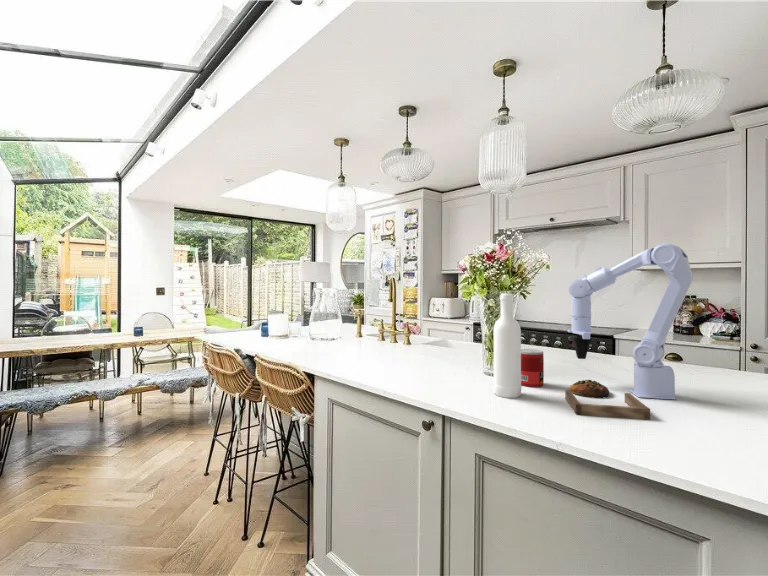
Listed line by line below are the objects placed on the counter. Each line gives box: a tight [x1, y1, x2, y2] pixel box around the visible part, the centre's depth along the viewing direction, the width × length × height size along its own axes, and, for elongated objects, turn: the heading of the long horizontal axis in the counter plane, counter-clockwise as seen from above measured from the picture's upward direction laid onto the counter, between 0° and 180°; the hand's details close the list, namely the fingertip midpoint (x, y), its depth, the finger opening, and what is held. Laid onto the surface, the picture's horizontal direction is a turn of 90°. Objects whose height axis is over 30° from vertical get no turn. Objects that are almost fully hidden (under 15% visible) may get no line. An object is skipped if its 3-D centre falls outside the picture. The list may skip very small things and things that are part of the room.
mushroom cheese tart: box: [568, 379, 610, 399], centre depth 120 cm, size 11×11×5 cm
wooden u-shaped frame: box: [564, 389, 651, 421], centre depth 105 cm, size 16×14×2 cm
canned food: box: [521, 348, 545, 388], centre depth 130 cm, size 8×8×11 cm
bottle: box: [493, 293, 522, 399], centre depth 118 cm, size 8×8×30 cm
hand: (581, 358), depth 129 cm, fingers closed
